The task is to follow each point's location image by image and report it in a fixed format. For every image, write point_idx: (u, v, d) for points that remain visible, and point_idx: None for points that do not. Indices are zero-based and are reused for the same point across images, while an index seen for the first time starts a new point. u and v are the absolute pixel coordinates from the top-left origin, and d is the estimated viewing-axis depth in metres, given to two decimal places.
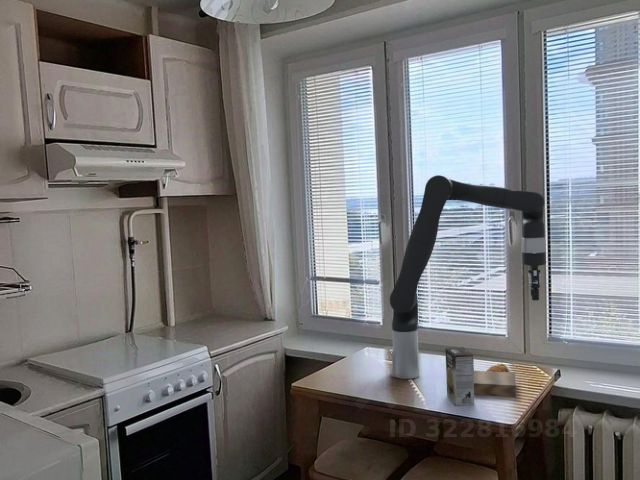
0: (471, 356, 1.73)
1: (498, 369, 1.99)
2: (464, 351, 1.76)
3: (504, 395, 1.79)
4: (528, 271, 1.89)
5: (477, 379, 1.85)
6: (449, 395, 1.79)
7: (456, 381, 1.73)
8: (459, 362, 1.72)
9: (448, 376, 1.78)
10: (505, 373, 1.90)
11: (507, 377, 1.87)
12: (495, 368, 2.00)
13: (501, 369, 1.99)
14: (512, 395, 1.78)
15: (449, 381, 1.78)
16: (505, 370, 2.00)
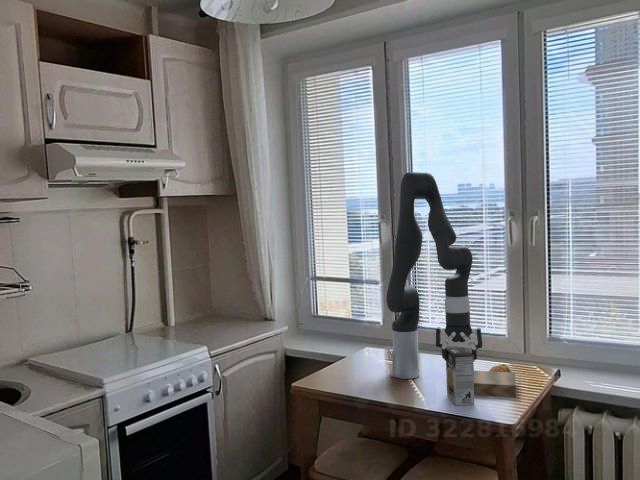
0: (471, 356, 1.73)
1: (500, 369, 1.99)
2: (464, 351, 1.76)
3: (504, 395, 1.79)
4: (463, 332, 1.74)
5: (477, 379, 1.85)
6: (449, 395, 1.79)
7: (456, 381, 1.73)
8: (459, 362, 1.72)
9: (448, 376, 1.78)
10: (505, 373, 1.90)
11: (507, 377, 1.87)
12: (497, 368, 2.00)
13: (503, 369, 1.99)
14: (512, 395, 1.78)
15: (449, 381, 1.78)
16: (507, 370, 1.99)
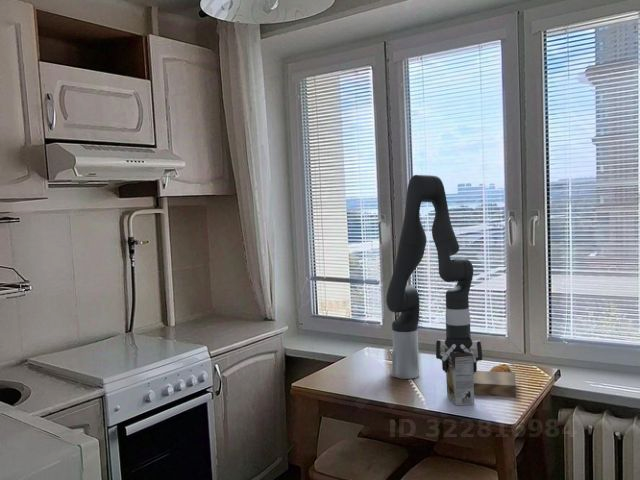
0: (471, 356, 1.73)
1: (501, 369, 1.99)
2: None
3: (504, 395, 1.79)
4: (463, 344, 1.74)
5: (477, 379, 1.85)
6: (449, 395, 1.79)
7: (455, 381, 1.73)
8: (459, 362, 1.72)
9: (448, 376, 1.78)
10: (505, 373, 1.90)
11: (507, 377, 1.87)
12: (498, 368, 1.99)
13: (504, 369, 1.99)
14: (512, 395, 1.78)
15: (449, 381, 1.78)
16: (508, 370, 1.99)
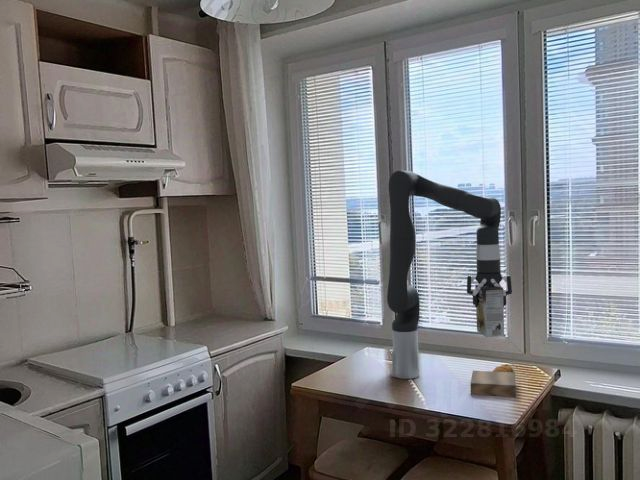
0: (501, 289, 1.80)
1: (504, 370, 1.98)
2: None
3: (504, 395, 1.79)
4: (494, 279, 1.82)
5: (477, 379, 1.85)
6: (479, 329, 1.87)
7: (486, 314, 1.80)
8: (489, 295, 1.80)
9: (478, 310, 1.86)
10: (505, 373, 1.90)
11: (507, 377, 1.87)
12: (501, 369, 1.99)
13: (507, 370, 1.98)
14: (512, 395, 1.78)
15: (479, 315, 1.86)
16: (511, 370, 1.99)
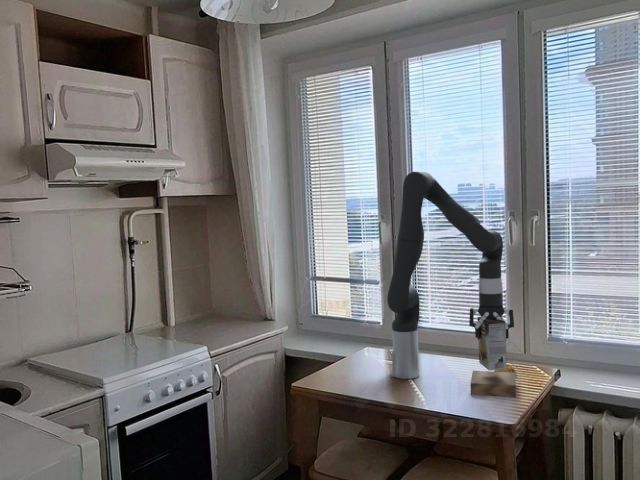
0: (503, 323, 1.81)
1: (506, 370, 1.98)
2: None
3: (504, 395, 1.79)
4: (496, 312, 1.83)
5: (477, 379, 1.85)
6: (481, 361, 1.88)
7: (489, 347, 1.82)
8: (492, 329, 1.81)
9: (481, 343, 1.87)
10: (505, 373, 1.90)
11: (507, 377, 1.87)
12: (502, 369, 1.99)
13: (508, 370, 1.98)
14: (512, 395, 1.78)
15: (481, 348, 1.87)
16: (512, 370, 1.99)
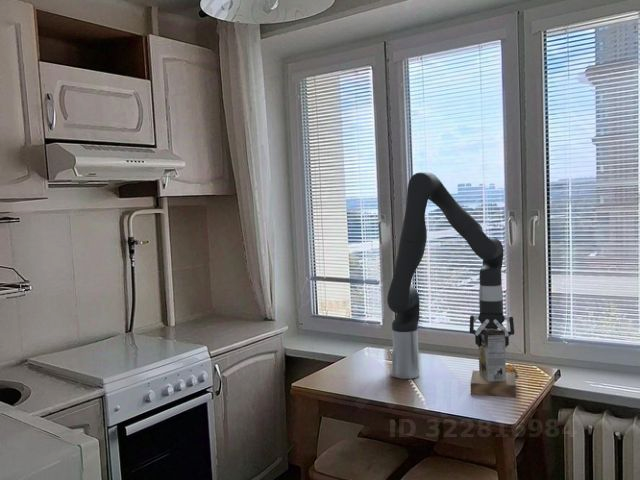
0: (503, 335, 1.81)
1: (507, 370, 1.98)
2: (496, 330, 1.85)
3: (504, 395, 1.79)
4: (496, 319, 1.83)
5: (477, 379, 1.85)
6: (481, 372, 1.88)
7: (488, 358, 1.82)
8: (491, 340, 1.81)
9: (481, 354, 1.87)
10: None
11: (507, 377, 1.87)
12: None
13: (510, 370, 1.98)
14: (512, 395, 1.78)
15: (481, 359, 1.87)
16: (514, 371, 1.99)
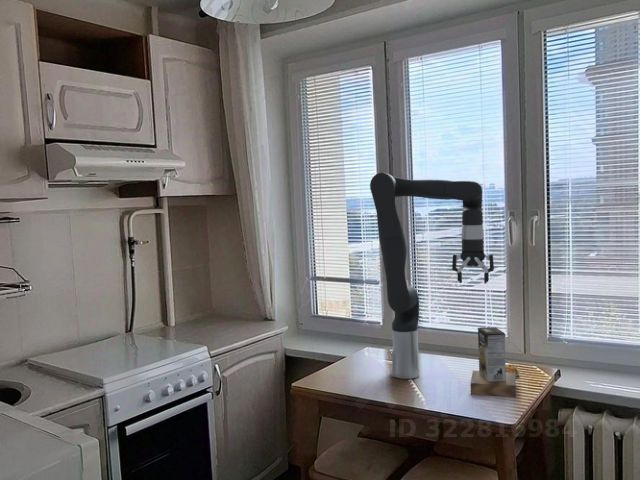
0: (503, 335, 1.81)
1: (509, 370, 1.98)
2: (496, 330, 1.85)
3: (504, 395, 1.79)
4: (477, 257, 1.96)
5: (477, 379, 1.85)
6: (481, 372, 1.88)
7: (488, 358, 1.82)
8: (491, 340, 1.82)
9: (481, 354, 1.87)
10: None
11: (507, 377, 1.87)
12: (506, 369, 1.98)
13: (512, 370, 1.98)
14: (512, 395, 1.78)
15: (481, 359, 1.87)
16: (515, 371, 1.99)
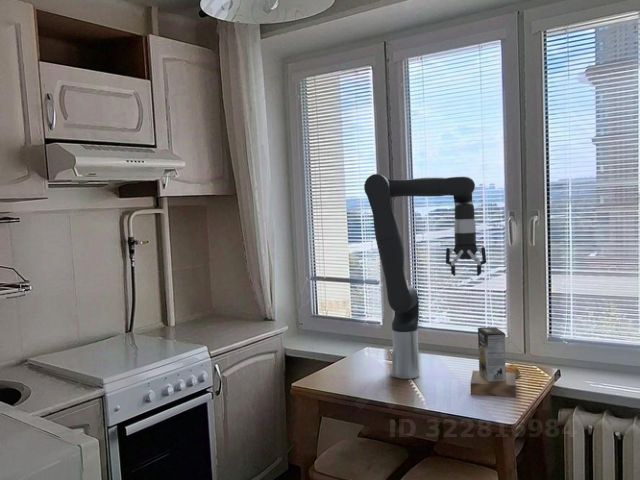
0: (503, 335, 1.81)
1: (511, 370, 1.97)
2: (496, 330, 1.85)
3: (504, 395, 1.79)
4: (470, 250, 2.02)
5: (477, 379, 1.85)
6: (481, 372, 1.88)
7: (488, 358, 1.82)
8: (491, 340, 1.82)
9: (481, 354, 1.87)
10: None
11: (507, 377, 1.87)
12: (507, 369, 1.98)
13: (513, 370, 1.98)
14: (512, 395, 1.78)
15: (481, 359, 1.87)
16: (517, 371, 1.98)
